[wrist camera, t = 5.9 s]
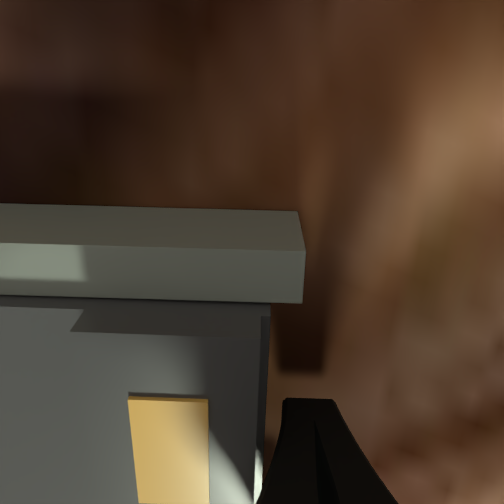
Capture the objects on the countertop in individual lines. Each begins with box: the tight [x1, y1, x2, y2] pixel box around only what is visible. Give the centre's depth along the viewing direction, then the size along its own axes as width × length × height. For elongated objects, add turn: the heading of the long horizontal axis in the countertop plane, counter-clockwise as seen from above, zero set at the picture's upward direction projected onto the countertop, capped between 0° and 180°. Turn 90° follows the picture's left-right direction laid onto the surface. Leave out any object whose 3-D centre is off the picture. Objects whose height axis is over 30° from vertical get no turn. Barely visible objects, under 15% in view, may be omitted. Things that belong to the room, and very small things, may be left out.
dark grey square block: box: [0, 295, 271, 504], centre depth 12 cm, size 7×6×4 cm
